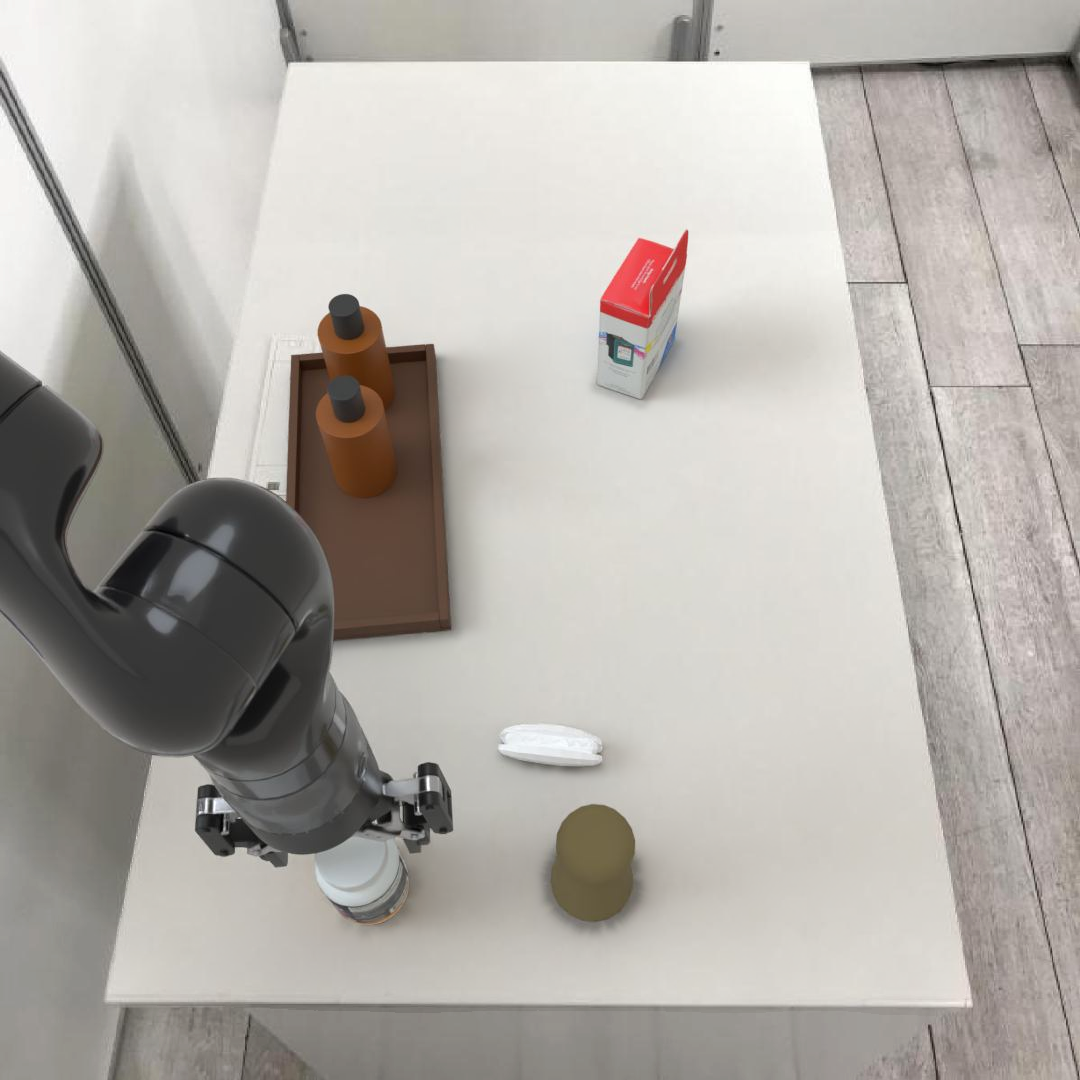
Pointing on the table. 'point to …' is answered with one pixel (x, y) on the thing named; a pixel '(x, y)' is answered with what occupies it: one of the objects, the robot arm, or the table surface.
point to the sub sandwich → (551, 745)
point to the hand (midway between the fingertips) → (348, 844)
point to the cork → (593, 863)
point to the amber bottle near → (356, 438)
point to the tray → (377, 504)
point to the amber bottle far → (356, 346)
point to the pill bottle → (363, 879)
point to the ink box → (640, 316)
